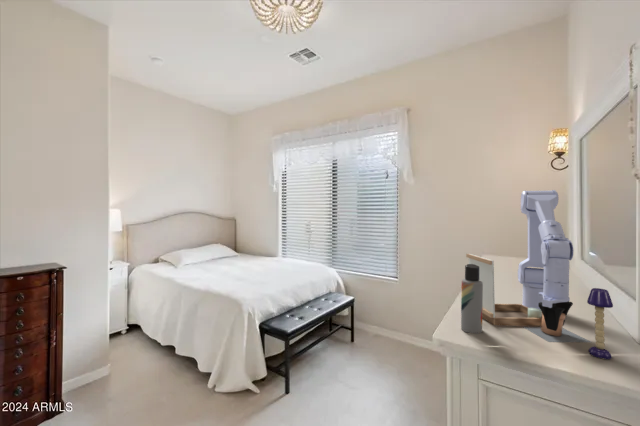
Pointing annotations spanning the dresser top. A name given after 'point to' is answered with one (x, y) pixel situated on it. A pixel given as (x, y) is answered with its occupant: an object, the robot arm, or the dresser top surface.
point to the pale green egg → (534, 313)
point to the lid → (485, 282)
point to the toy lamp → (599, 320)
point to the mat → (565, 336)
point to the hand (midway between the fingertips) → (555, 327)
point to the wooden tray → (512, 316)
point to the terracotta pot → (552, 332)
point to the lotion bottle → (471, 300)
